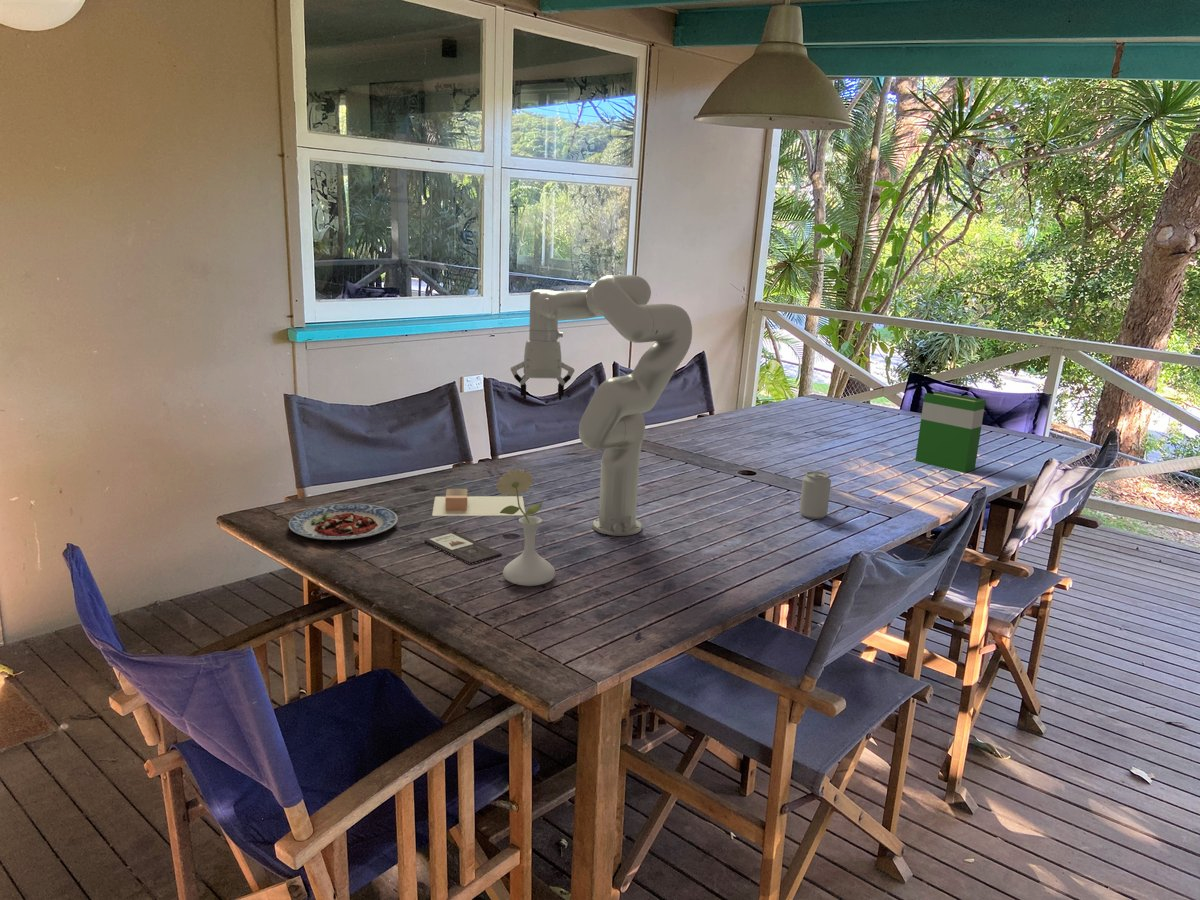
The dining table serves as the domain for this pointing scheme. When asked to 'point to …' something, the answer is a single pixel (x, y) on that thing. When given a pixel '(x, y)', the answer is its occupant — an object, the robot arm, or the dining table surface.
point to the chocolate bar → (463, 547)
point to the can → (815, 495)
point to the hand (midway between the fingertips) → (541, 398)
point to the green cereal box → (950, 431)
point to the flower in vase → (529, 564)
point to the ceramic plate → (343, 521)
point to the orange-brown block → (456, 500)
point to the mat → (481, 506)
